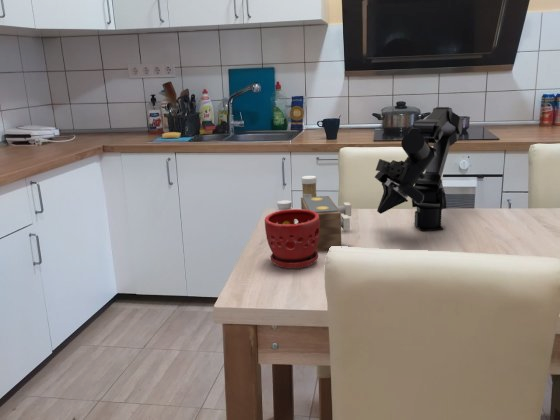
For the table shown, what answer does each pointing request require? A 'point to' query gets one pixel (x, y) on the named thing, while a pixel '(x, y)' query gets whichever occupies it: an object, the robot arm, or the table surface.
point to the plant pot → (293, 237)
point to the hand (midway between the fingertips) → (378, 212)
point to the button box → (327, 228)
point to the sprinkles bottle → (309, 186)
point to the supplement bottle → (284, 208)
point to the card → (320, 204)
